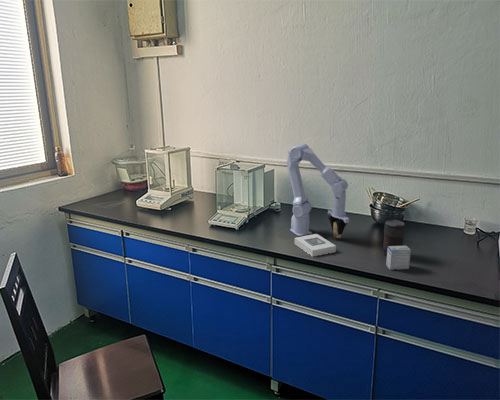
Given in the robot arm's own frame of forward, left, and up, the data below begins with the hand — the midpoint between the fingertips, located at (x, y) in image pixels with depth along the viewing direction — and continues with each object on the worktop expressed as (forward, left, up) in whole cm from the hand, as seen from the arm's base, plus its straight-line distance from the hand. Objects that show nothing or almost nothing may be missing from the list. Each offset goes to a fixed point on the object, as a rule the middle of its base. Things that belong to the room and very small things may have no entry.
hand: (337, 232), depth 191 cm
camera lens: (+25, +11, -4) cm, 28 cm away
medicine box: (+35, +5, -4) cm, 36 cm away
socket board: (+4, -15, -4) cm, 16 cm away
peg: (0, 0, -2) cm, 2 cm away
